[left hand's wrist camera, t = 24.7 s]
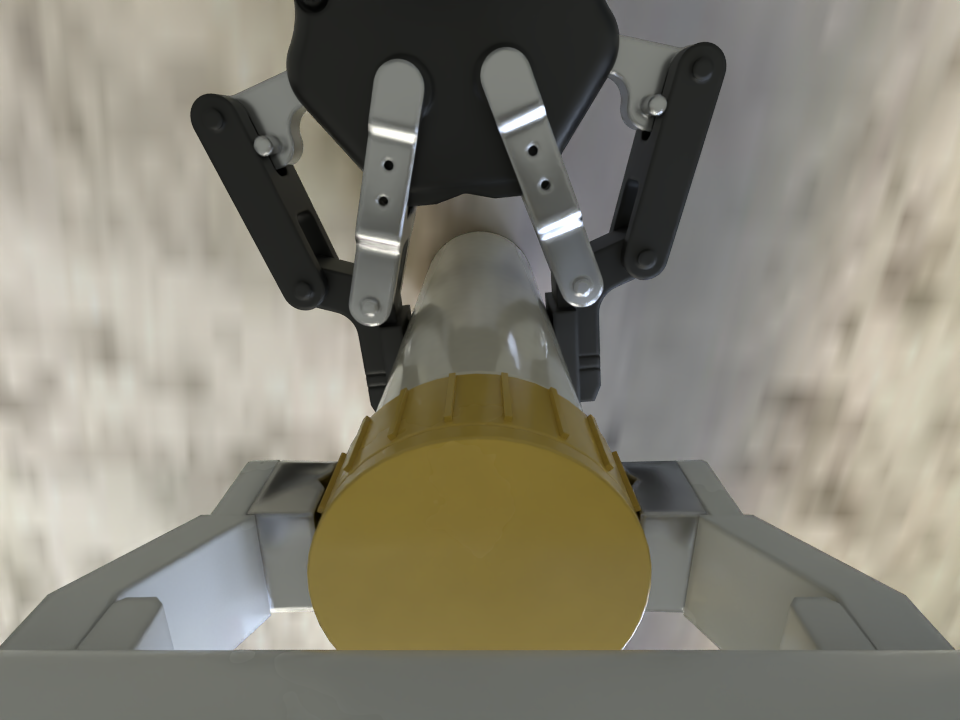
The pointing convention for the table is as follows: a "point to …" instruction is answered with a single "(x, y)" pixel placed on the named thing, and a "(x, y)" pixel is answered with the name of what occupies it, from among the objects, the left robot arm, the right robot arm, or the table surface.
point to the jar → (479, 321)
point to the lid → (479, 526)
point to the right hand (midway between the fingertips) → (488, 414)
